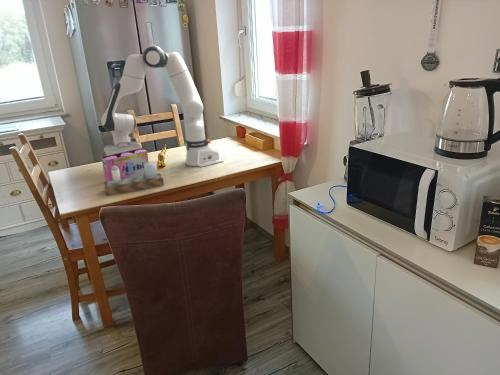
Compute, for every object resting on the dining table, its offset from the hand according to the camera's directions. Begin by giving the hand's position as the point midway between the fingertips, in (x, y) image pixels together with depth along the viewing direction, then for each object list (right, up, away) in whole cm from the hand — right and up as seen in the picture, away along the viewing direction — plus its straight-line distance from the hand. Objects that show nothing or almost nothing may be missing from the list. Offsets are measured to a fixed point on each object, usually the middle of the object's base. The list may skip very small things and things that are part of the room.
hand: (127, 165), depth 218 cm
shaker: (+2, -10, -21) cm, 23 cm away
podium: (+9, -12, -16) cm, 22 cm away
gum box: (+1, -7, -3) cm, 8 cm away
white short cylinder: (+17, -7, -15) cm, 24 cm away
